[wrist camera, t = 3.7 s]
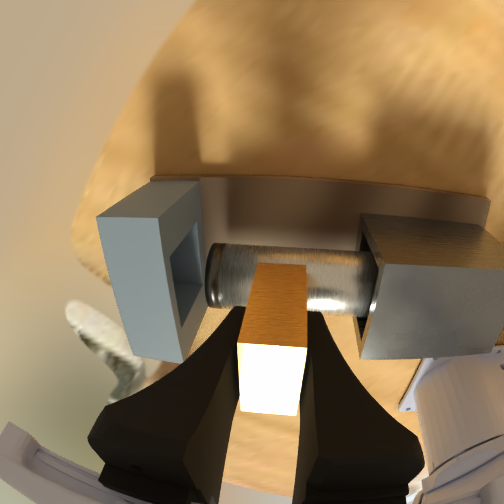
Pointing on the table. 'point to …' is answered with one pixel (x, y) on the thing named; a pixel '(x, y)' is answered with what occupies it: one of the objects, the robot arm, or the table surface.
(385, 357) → the outer sleeve
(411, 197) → the base board
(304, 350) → the tube
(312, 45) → the table surface
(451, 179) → the table surface
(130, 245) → the socket block
